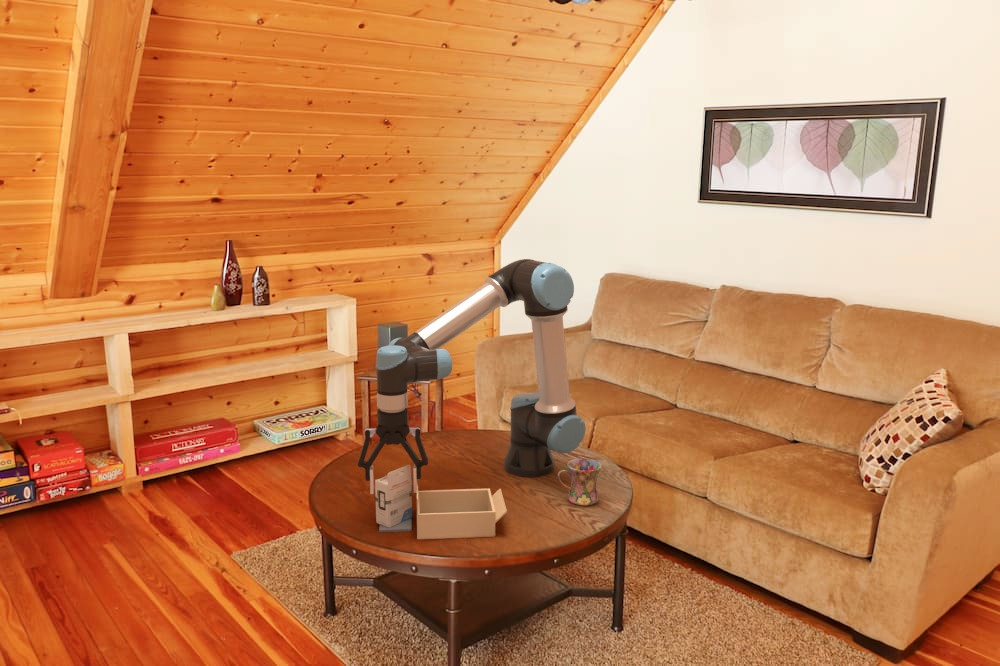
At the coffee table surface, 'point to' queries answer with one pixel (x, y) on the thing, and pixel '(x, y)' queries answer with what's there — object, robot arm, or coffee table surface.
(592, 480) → the mug
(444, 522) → the carton
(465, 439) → the coffee table surface
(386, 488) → the ink box
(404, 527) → the felt pad
